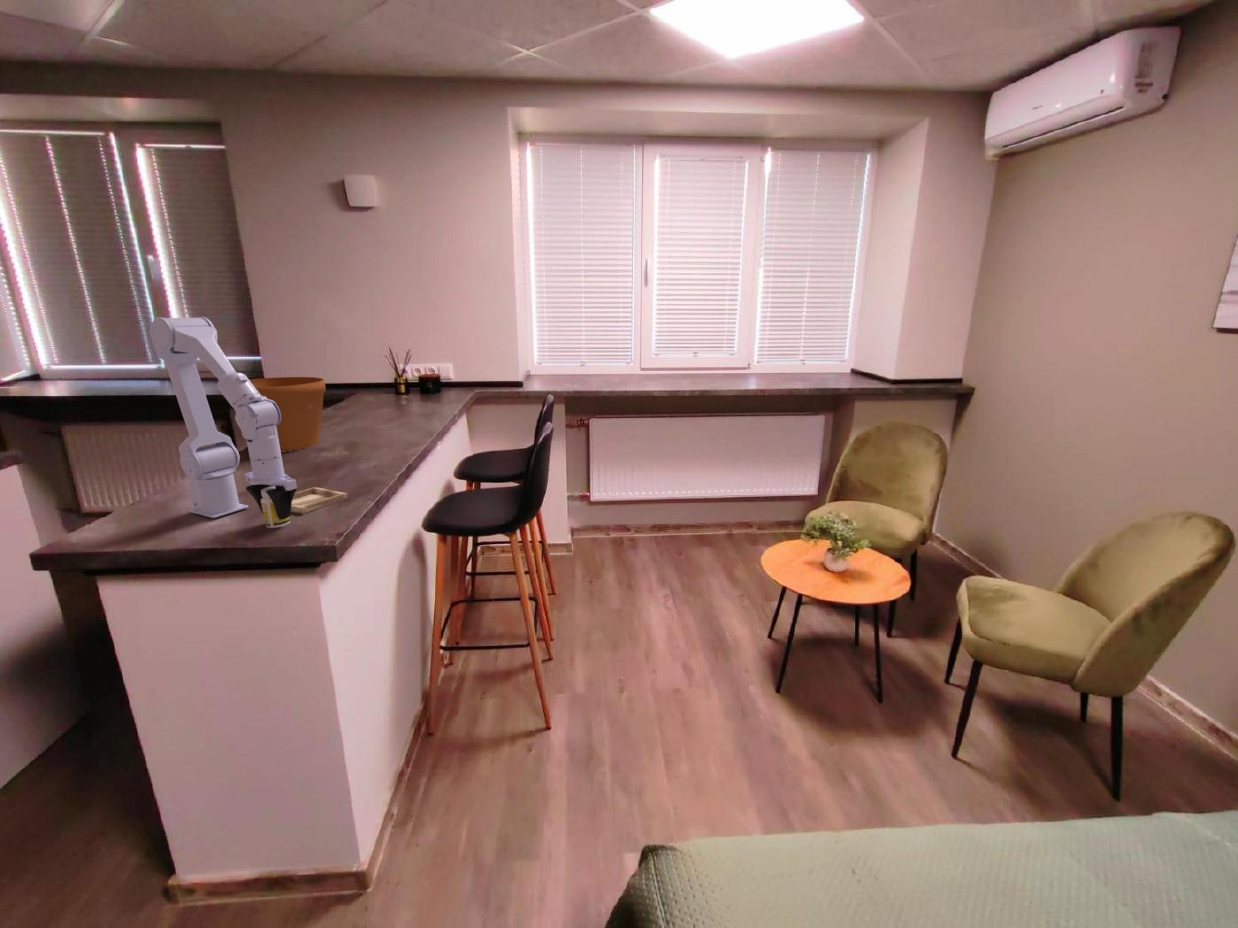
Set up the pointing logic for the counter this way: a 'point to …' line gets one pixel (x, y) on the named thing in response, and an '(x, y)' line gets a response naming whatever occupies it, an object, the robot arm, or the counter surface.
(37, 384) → the counter surface
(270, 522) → the supplement bottle
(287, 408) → the flowerpot
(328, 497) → the tray
